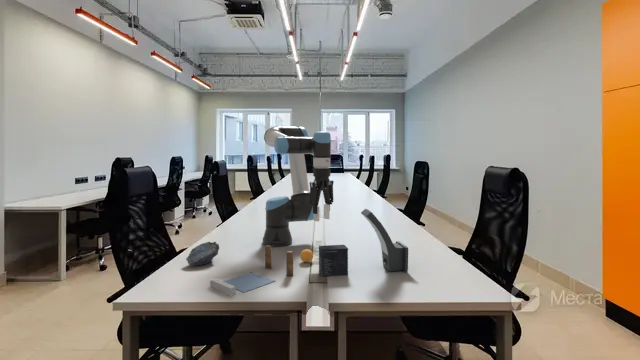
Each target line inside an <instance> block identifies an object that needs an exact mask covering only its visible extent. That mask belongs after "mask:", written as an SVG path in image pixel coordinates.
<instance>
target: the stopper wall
mask: <svg viewBox="0 0 640 360" xmlns="http://www.w3.org/2000/svg"><path fill="white" fill-rule="evenodd" d="M209 281H210V282H209V283H210V287H211V288H213V289H214V290H218V291H219V292H222V293H223V294H225V295H227V296H229V297H230V296H234V295H236V294H237V289H236V287H235V286H233V285H230V284H228V283H226V282H223V281H224V280H221V279H219V278H216V277H214V278H212V279H211V278H210V280H209Z"/></svg>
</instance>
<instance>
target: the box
mask: <svg viewBox="0 0 640 360" xmlns="http://www.w3.org/2000/svg"><path fill="white" fill-rule="evenodd" d="M318 272H319V274H320V277H336V276H337V277H338V276H348V275H349V248H348V247H347V246H346V245H345V244H328V245H319V246H318Z"/></svg>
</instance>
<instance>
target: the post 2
mask: <svg viewBox="0 0 640 360" xmlns="http://www.w3.org/2000/svg"><path fill="white" fill-rule="evenodd" d="M285 259H286V261H285V262H286V263H285V264H286V265H285V266H286V268H285V269H286V271H285V272H286V275H285V276H286V277H293V276H294V251H293V250H288V251H286V256H285Z"/></svg>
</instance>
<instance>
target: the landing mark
mask: <svg viewBox="0 0 640 360" xmlns="http://www.w3.org/2000/svg"><path fill="white" fill-rule="evenodd" d="M222 281H223V282H226V283H228V284H230V285H233V286H235V287H236V291H239V292H242V293H247V292H249V291H252V290H255V289H257V288H260V287H263V286H266V285H269V284H272V283H274V282H276V280H274V279H271V278H269V277H267V276H263V275H260V274H258V273H254V272H252V271H251V272H247V273H244V274H240V275H237V276H235V277H230V278H228V279H225V280H222Z"/></svg>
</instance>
